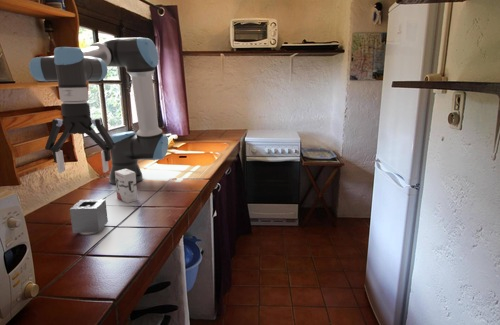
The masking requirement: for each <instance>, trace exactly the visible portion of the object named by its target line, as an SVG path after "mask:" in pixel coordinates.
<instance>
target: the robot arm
mask: <svg viewBox="0 0 500 325" xmlns="http://www.w3.org/2000/svg"><path fill="white" fill-rule="evenodd" d="M156 46H157V45H155V43H154V41H153V40H152V39H151V38H148V37H141V36H139V37H112V38H109V39H105V40H101V41H98V42H94V43H92V44H90V45H89V46H88V47H86V48H80V47H72V46H59V47H55V48H54V50H53V55H51V56H39V57H38V56H37V57H36V56H35V57H33V58H31V59H30V61H29V64H28V68H29V74H30V75H31V77H32V78H34V80H36V81H38V82H46V83H48V82H57V84H58V85H57V86H58V92H59V100H60V102H61V104H60V108H61V115H62V119H60V118H58V117H57V118H54V119H52V120H51V124H52V126H51V130H50V131H49V132H50V133H49V135H48V137H47V141H46V144H45V147H44V149H45V150H46V151H51V152H52V156H53V161H54V162H55V163H56V165H57V172H58V174H62V173H64V172H65V171H66V165H65V158H64V153H63V150H61V148H62V147H63V145H64V143H65V142H66V141H67V140H68V138H69V137H70V135H76V134H79V135H83V134H86V135H87V136H89V138H90V139H91V140H92V141H93V142H94V143H96V145H98V147H100V149H101V150H102V151H100V157H101V163H102V164H101V165H102V173H107V172H109V170H110V173H109V176H108V178H109V180H108V181H109V183H110V184H112V185H116V178H115V171H118V170H122V169H128V170H131V171H133V172H135V174H136V183H140V182H141V181H143V180H144V179H143V176H144V175H143V173H142V170H141V167H140V165H139V164H138V160H143V161H159V160H164V159H165V157H166V155H167V153H168V148H169V138H168V136H167V135H166V134H164V131H163V129H161V128H160V127H159V122H158V121H159V120H158V119H159V118H158V113H157V105H156V98H155V90H154V81H153V74H154V73H155V71H156V69H155V68H156V67H157V66H158V65H159V53H158V49H157V47H156ZM108 67H112V68H113V67H116V68H118V67H119V68H125V70H126V73H127V74H128V75H129V76H131V84H132V91H133V97H134V98H133V99H134V103H135V111H136V116H137V118H136V119H137V122H138V123H137V124H138V130H137V131H136V132H135V131H133V130H131V131H130V130H129V131H124V132H118V133H114V134H112V135H110V133H109V132H108V130H107V129H106V127H105V126H104V123H103V118H101V117H99V118H96V119H95V118H93V119H92V118H91V108H90V107H91V106H90V103H89V102H88V101H90V98H89V92H88V91H89V90H88V84H87V82H99V81H102V80H104V79H105V78H106V77H107V74H108ZM92 125H93V126H95V127H96V130H97V131H98V133H99V134H100V135H99V134H98V133H97V132H96V131H95V129H93V127H92ZM62 126H64V127H65V128H64V130H63V131H62V133H61V135H60V136H59V138H58V135H59V133H60V130H61V127H62ZM100 136H101V137H100ZM57 138H58V139H57ZM109 161H111V168H110V166H109Z"/></svg>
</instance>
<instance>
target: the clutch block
mask: <svg viewBox="0 0 500 325" xmlns="http://www.w3.org/2000/svg"><path fill="white" fill-rule="evenodd" d="M86 205H91V206H88V207H86ZM69 215H70V221H71V222H70V223H71V227H72V228H71V229H72V233H73V234H80V233H93V232H99V233H100V231H101V230H102V228H103V229H104V227H105V226H106V225H107V224H108V223H109V220H108V211H107V202H106V199H80V200H78V201H77V202H76V203H75V204H73V205H72V206H71V207H70V208H69ZM102 231H103V230H102ZM102 231H101V232H102Z"/></svg>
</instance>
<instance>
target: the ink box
mask: <svg viewBox="0 0 500 325" xmlns="http://www.w3.org/2000/svg"><path fill="white" fill-rule="evenodd" d="M115 178H116V184H115V189H116V197H117V199H118V200H120V201H123V202H124V203H127V204H128V203H131V202H135V201H138V188H137V187H138V186H137V182H136V174H135V172H133V171H131V170H128V169H122V170H118V171H115Z"/></svg>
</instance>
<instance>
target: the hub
mask: <svg viewBox="0 0 500 325" xmlns="http://www.w3.org/2000/svg"><path fill="white" fill-rule="evenodd" d="M88 206H91V205H86V207H88ZM103 229H104V227H103V228H102V230H101V231H100V232H102V231H103ZM100 232H93V233H79V235H80V236H81V235H82V236H91V235H92V236H93V235H96V234H98V233H100Z"/></svg>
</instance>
